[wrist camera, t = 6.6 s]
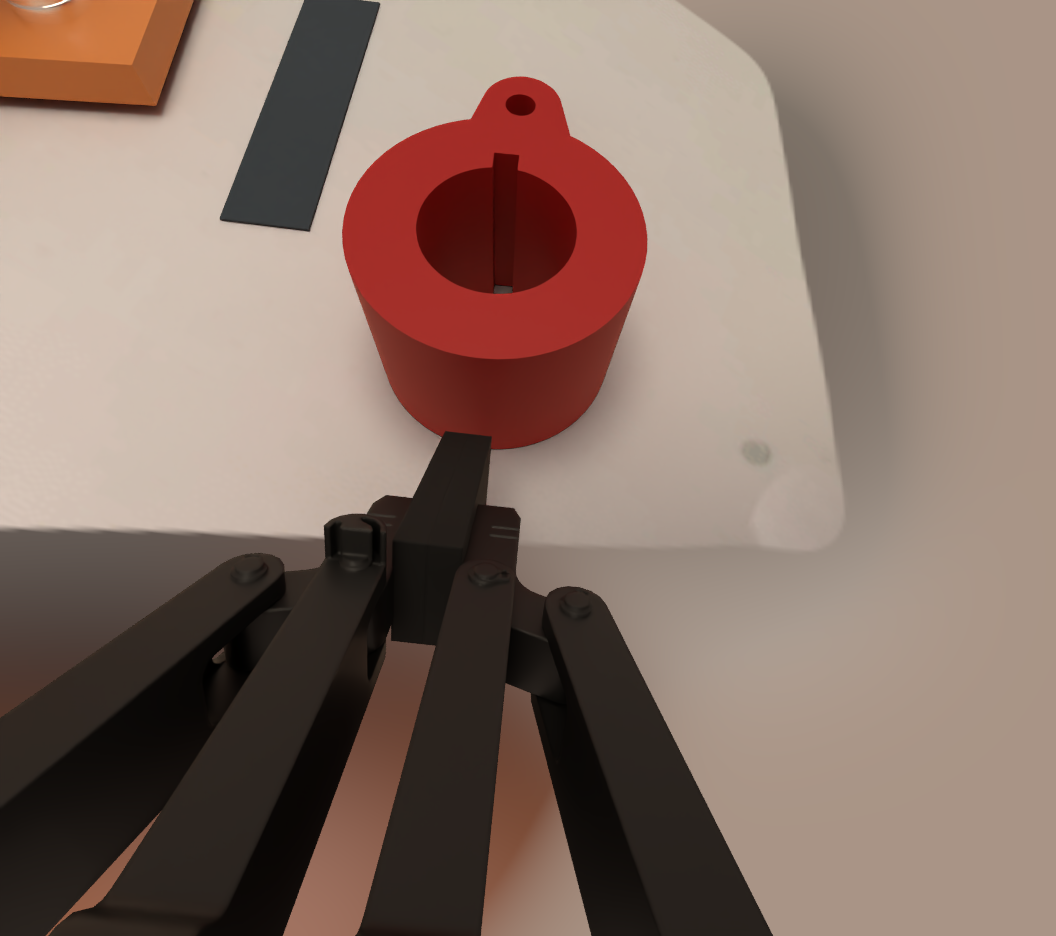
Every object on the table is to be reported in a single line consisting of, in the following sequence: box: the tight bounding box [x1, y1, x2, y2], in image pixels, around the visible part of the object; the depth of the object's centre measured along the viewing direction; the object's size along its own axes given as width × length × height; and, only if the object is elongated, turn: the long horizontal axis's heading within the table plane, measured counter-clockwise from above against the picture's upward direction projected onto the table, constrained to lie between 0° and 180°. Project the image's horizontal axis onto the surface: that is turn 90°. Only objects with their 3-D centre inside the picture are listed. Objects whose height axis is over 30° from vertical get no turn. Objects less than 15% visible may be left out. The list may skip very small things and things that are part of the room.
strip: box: [220, 0, 380, 231], centre depth 28 cm, size 4×16×1 cm, turn 174°
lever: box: [342, 77, 647, 449], centre depth 22 cm, size 18×9×7 cm, turn 175°
